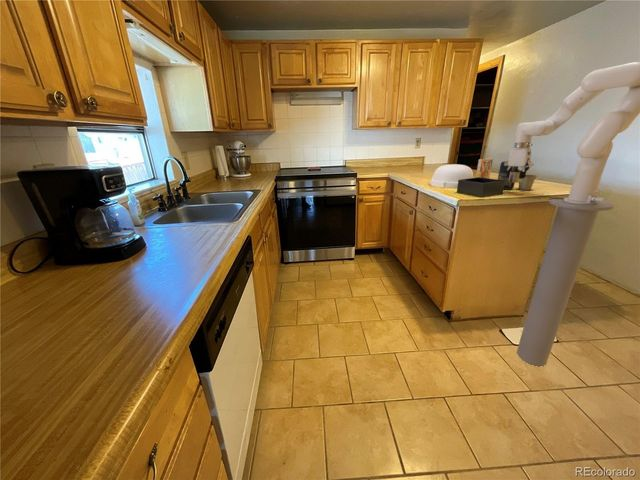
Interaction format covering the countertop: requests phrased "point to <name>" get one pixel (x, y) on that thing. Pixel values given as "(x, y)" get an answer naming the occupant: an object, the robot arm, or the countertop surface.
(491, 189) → the dark gray open box
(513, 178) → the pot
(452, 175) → the dome cover
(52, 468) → the countertop surface
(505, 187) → the canister
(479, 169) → the candy box
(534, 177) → the flower pot
